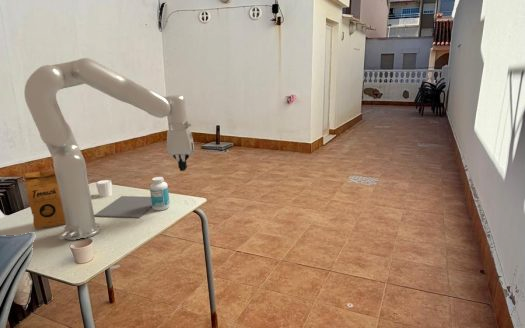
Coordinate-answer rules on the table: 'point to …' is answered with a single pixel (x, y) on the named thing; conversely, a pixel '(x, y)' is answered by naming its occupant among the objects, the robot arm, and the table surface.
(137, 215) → the mat
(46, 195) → the coffee package
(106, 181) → the white ridged cylinder
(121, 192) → the table surface
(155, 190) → the pill bottle
